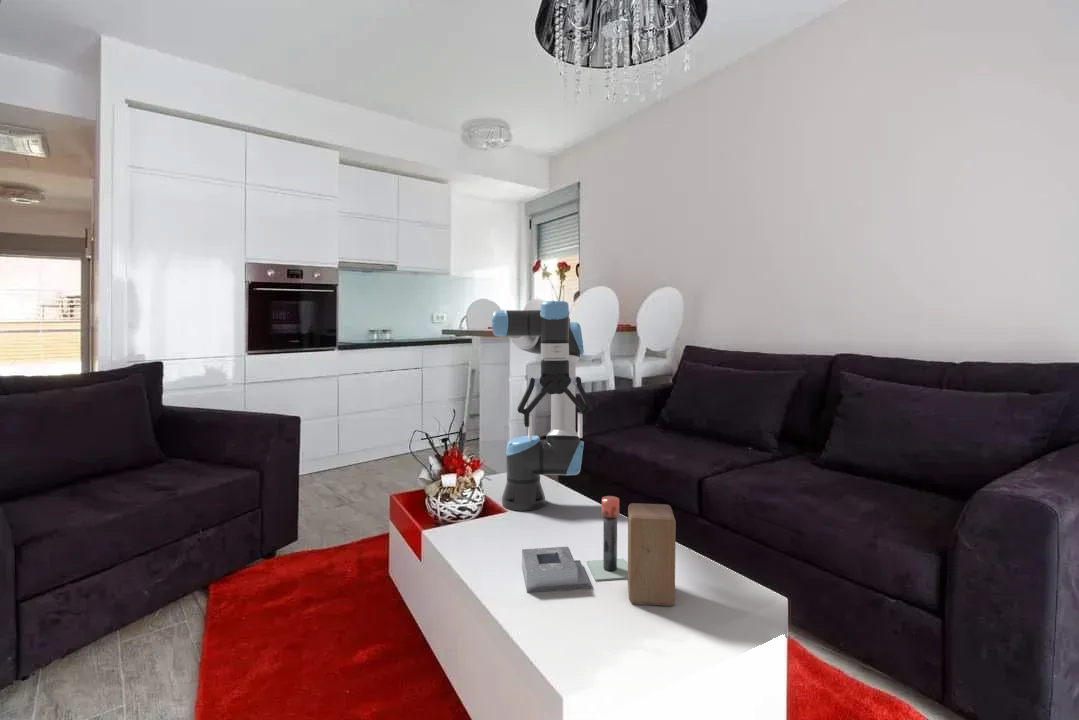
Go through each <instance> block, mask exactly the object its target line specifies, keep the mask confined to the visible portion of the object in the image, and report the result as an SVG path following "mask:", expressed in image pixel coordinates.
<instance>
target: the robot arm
mask: <svg viewBox="0 0 1079 720" xmlns="http://www.w3.org/2000/svg"><path fill="white" fill-rule="evenodd" d="M569 306H570V305H569V302H568V301H564V300H548V301H547V300H546V301H542V302H541V304H540V309H533V310H532V309H530V310H527V309H525V310H524V309H523V310H522V309H521V310H519V309H518V310H517V309H516V310H515V309H514V310H511V309H509V310H506V309H503V310H495V311H493V314H492V318H491V330H492V334H493V336H495V337H502V338H504V337H506V338H510V339H511V340H512V343H513V344H514V346H515V347H517V348H518V349H520V350H521V351H525V352H528V353H531V354H537V355H540V358H542V359H541V361H540V377H539V378H534V377H531V376H530V377H529V380H528V386H527V388H526V390H525V392H524V394H523V396H522V398H521V400H520V402H519V404H518V406H517V408H516V410H517V412H518V413H519V414H523V424H524V427H526V428H528V429H527V431H528V432H527V435H524V436H523V435H522V436H517V437H513V438H512V439H510V440H508V442H507V444H506V452H505V456H506V484H505V487H504V490H503V493H502V496H501V505H502V507H504V508H505V509H508V510H511V511H519V512H522V511H523V512H524V511H525V512H526V511H534V510H538V509H540V508H542V507H544V506H545V505H546V495H545V492H544V490H543V489H544V488H543V487H542V483H541V476H543V475H544V476H566V477H567V476H577V475H579V474H580V472H581V469H582V462H583V451H584V444H585V442H584V441H583V440H580V439H583V426H585V425H587V413H589V412H592V411H593V410H594V407H593V405H592V404H591V401H590V400H589V397H588V395H587V394H586V391H585V389H584V387H583V385H582V378H581V377H580V376H576V375H577V374H576V370H577V369H576V364H577V363H578V362H579V361H580V360H581V359H580V358H581V355H583V354H584V352H585V351H584V341H583V334H582V328H581V324H580V323H579V322H574V321H571V318H570V307H569ZM538 384H540V385H541V387H542V388H540V390H539V392H537V394H536V395H535V396H534V398H533V399H532V400H531V401H530V403H529V404H528V405H527V402H528V401H529V399H530V397H531V395H532V392H533V390H534V388H535V387H537V385H538ZM576 389H577V391H578V393H579V395H580V397H581V399H582V401H583V403H584V405H585V407H584V405H583V404H581V402H580V401H579V400H578V399H577V397H576ZM547 394H549V395H550V400H551V401H550V410H551V411H550V431H549V432H548V433H547V434H546V440H541V438H540V436H539V435H534V434H533V415H532V413H531V412H532V411H533V410H534V409H535V407H537V405H538V404H539V403H540V402H541V401H542V399H543V398H544V397H545V396H546V395H547ZM526 405H527V406H526ZM525 406H526V407H525ZM576 408H577V409H578V410H579V411H580V412H577V431H576Z"/></svg>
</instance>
